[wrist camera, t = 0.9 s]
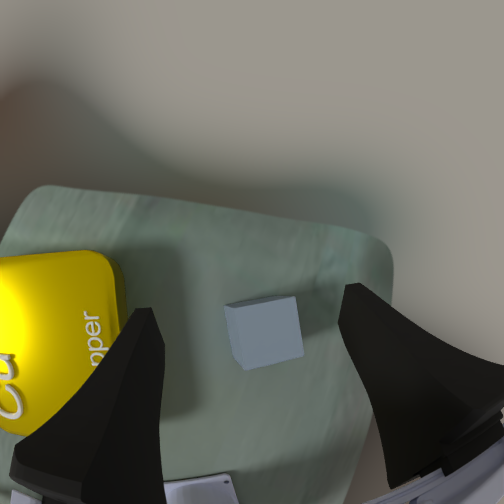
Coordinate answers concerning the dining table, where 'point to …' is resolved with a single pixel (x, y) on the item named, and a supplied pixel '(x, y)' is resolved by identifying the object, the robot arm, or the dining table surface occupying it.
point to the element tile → (54, 330)
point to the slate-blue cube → (264, 331)
